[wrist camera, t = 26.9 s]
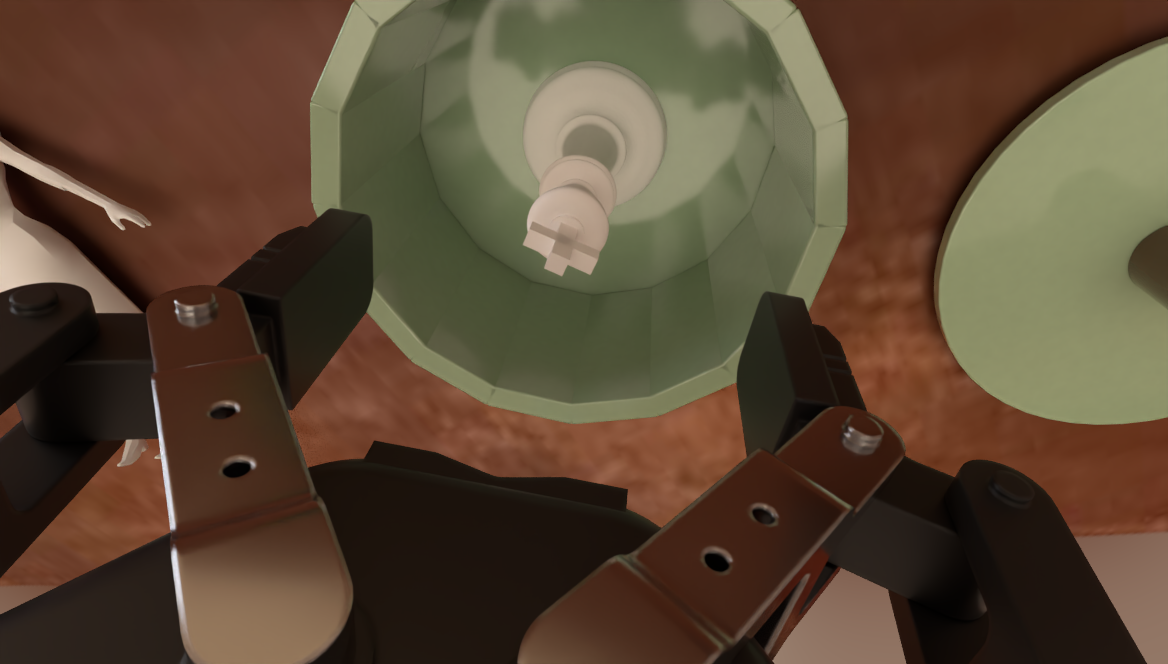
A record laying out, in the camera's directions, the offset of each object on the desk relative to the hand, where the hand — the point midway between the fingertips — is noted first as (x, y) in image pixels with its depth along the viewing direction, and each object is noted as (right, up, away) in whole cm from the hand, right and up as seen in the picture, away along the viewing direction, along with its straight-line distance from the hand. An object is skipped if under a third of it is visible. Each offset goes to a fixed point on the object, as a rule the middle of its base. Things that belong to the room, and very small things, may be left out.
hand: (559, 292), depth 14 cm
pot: (+1, +6, +10) cm, 12 cm away
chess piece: (+1, +6, +10) cm, 11 cm away
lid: (+20, +2, +9) cm, 23 cm away
